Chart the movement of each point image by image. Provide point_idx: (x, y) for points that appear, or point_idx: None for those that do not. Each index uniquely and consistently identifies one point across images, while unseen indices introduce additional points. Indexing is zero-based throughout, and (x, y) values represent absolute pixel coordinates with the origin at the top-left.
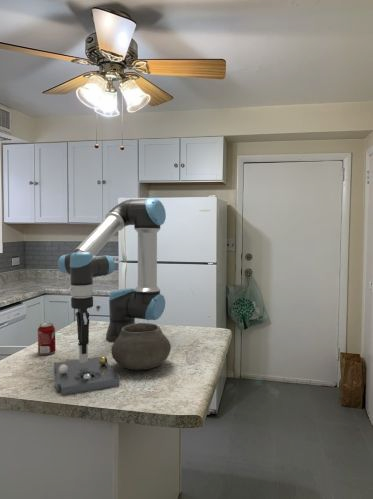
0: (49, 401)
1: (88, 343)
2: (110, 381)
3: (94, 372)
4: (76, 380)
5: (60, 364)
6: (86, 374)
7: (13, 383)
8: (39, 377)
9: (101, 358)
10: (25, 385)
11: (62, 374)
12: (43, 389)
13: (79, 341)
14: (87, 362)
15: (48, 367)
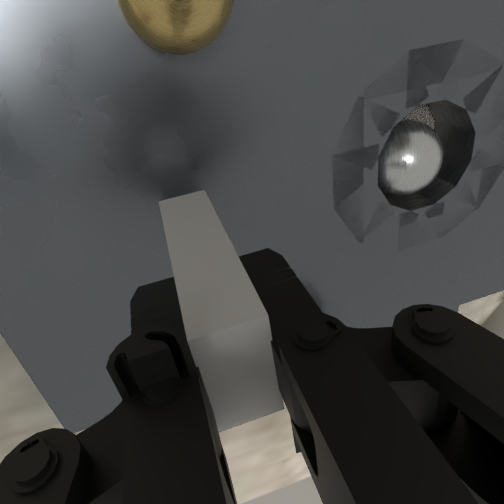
0: (496, 301)
1: (427, 305)
2: None
3: (371, 104)
4: (456, 228)
5: (111, 389)
6: (432, 173)
7: (251, 479)
8: None
9: (217, 14)
10: (289, 434)
11: None
12: None
13: (224, 463)
14: (72, 187)
15: (22, 433)
